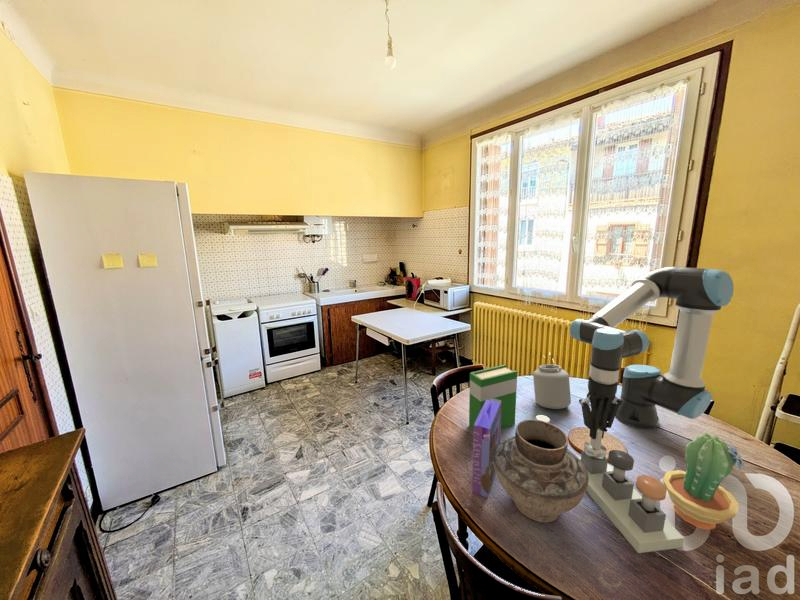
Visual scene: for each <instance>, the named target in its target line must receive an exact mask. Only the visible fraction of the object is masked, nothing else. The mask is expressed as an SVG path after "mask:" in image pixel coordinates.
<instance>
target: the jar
mask: <svg viewBox="0 0 800 600" xmlns="http://www.w3.org/2000/svg"><path fill="white" fill-rule="evenodd" d="M548 355H549V356H551V352H550V351H549V353H548ZM544 358H546V357H545V356H544ZM552 362H553V363H555V361H554V359H553V358H552ZM532 376H533V377H532V379H533V390H534V399H535V403H536V404H537V405H539V406H540V407H542V408H546V409H554V410H561V409H565V408H568V407H569V406H570V405H571V404H572V399H571V385H570V375H569V372H568V371H566V370H564V369H563V368H562V366H561V365H558V364H549V363H548V364H541V365H539V367H538V368H537V369H535V370H534V371H533V375H532Z"/></svg>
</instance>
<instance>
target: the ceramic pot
mask: <svg viewBox="0 0 800 600" xmlns="http://www.w3.org/2000/svg"><path fill="white" fill-rule="evenodd" d="M568 446H569V438H568V436H567V434H566V433H565V432H564V431H563V430H562V428H559V426H556V425H554V424H552V423H551V422H550V423H547V422H545V421H541V420H536V419H525V420H522V421H520V422H519V423H517V424H516V427H515V434H514V436H510V437H507V438H505V439H503V440H501V441H500V443H499V444H498V445H497V446H496V448H495V450H494V454H493V460H494V467H495V471H496V474H495V475H496V477H497V479H498V481H499V482H498V483H500V485H501V487H502V489H503V490H504V492H505V493H506V494H507V495H508V497H510V499H512V500H513V502H514V505H515V507H516V508H517V510H518V511H519V512H520V513H521V514H523V515H524V516H525V517H527V518H529V519H531V520H534V521H535V522H538V523H551V522H553V521H554V522H555V520H557V519H558V517H559V516H560V515H563V514H565V513H568V512H570V511H571V510H573V509H574V508H575V507H577V506H578V505H579V503H580V502H581V501H582V500H583V498H584V497H585V496H586V495H585V494H586V493H587V491H586V490H587V486H588V481H589V476H588V472H587V470H586V467H585V465H584V464H583V462H582V461H581V460H580V459H579V458H578V456H577V455H576V454H575V453H574V452H573V451H571V450H570V449H569V448H568Z"/></svg>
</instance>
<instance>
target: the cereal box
mask: <svg viewBox="0 0 800 600" xmlns="http://www.w3.org/2000/svg"><path fill="white" fill-rule="evenodd" d="M501 402H502V401H501V400H498V399H494V398H487V399H486V401H485V403H484V405H483V407H482V409H481V411H480V413H479V415H478V417H477V419H476V421H475V423H474V425H473V429H472V430H473V432H472V433H473V434H472V436H473V437H472V441H473V442H472V486H471V487H472V488H471V489H472V494H473V495H474V494H475V495H477V494H478V495H477V496H480V497H482V496H483V497H482V498H485V497H486V499H489V496H490V492H491V490H492V487H493V486H492V485H493V483H494V480H495V477H496V475H497V474H496V471H495V467H494V460H493V454H494V450H495V448H496V446H497V445H498V444H499V443H500V442H501ZM491 486H492V487H491Z"/></svg>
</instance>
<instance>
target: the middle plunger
mask: <svg viewBox="0 0 800 600" xmlns="http://www.w3.org/2000/svg"><path fill="white" fill-rule="evenodd" d="M607 459H608V464H609V465H610V466H611V467H613V478H614V479H615V480H617V481H624V478H625V476H626V472H627V471H632V470H633V469H634V466H635V465H634V463H635V460H634V458H633V457H632V456H631V455H630V454H629V453H627V452H626V451H625V452H624V451H623V450H617V449H611V450H610V451H609V452H608V456H607Z"/></svg>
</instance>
